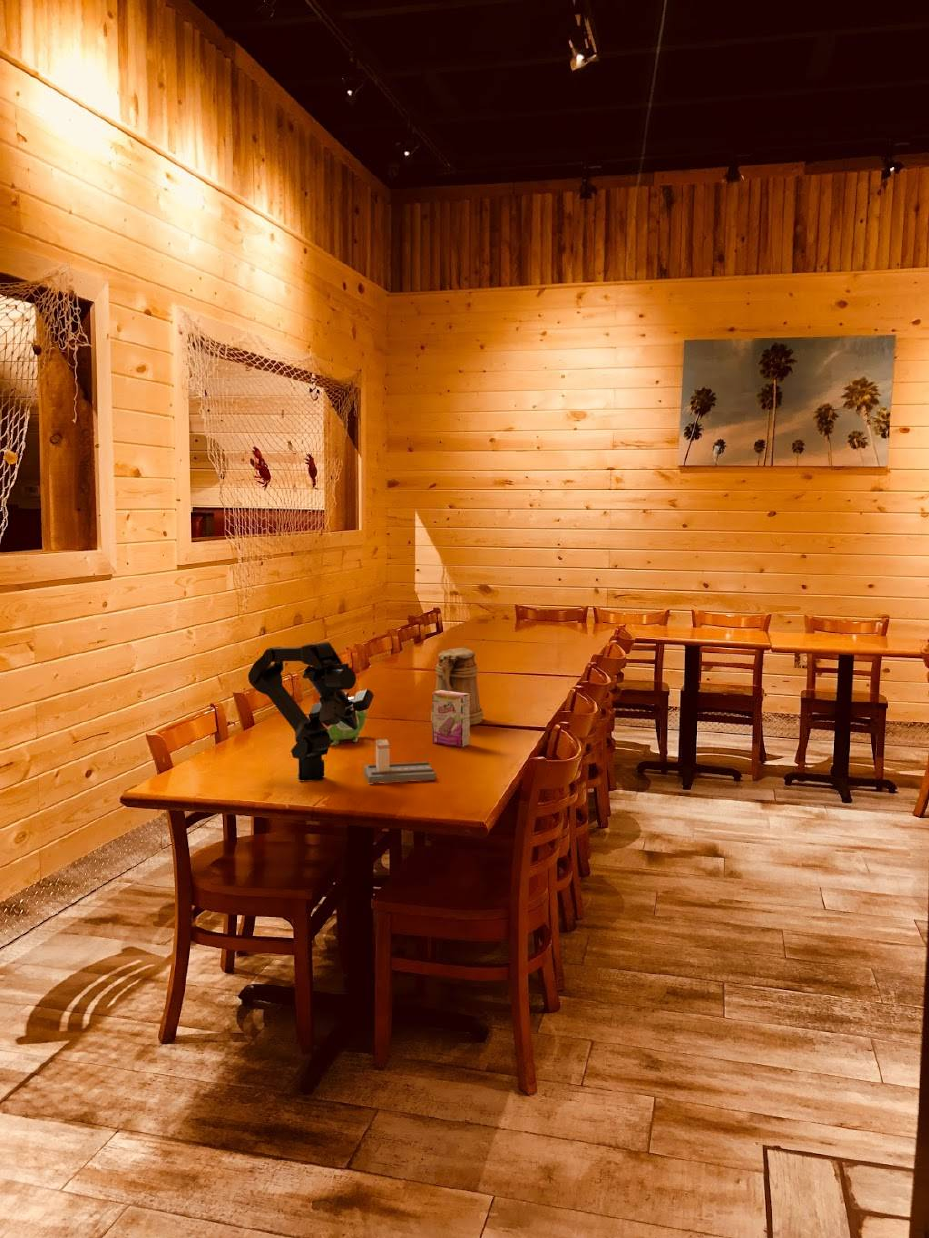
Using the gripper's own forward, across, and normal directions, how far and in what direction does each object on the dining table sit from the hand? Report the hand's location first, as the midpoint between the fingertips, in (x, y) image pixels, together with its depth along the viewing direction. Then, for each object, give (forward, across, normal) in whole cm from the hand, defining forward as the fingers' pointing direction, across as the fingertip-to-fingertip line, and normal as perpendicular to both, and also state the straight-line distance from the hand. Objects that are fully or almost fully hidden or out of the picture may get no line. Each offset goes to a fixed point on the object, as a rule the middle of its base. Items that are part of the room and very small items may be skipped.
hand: (356, 728), depth 269 cm
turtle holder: (+22, -27, +26) cm, 43 cm away
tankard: (+47, -5, +54) cm, 71 cm away
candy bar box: (+35, +5, +28) cm, 45 cm away
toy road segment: (+15, +7, -5) cm, 18 cm away
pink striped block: (+11, +4, -6) cm, 13 cm away
